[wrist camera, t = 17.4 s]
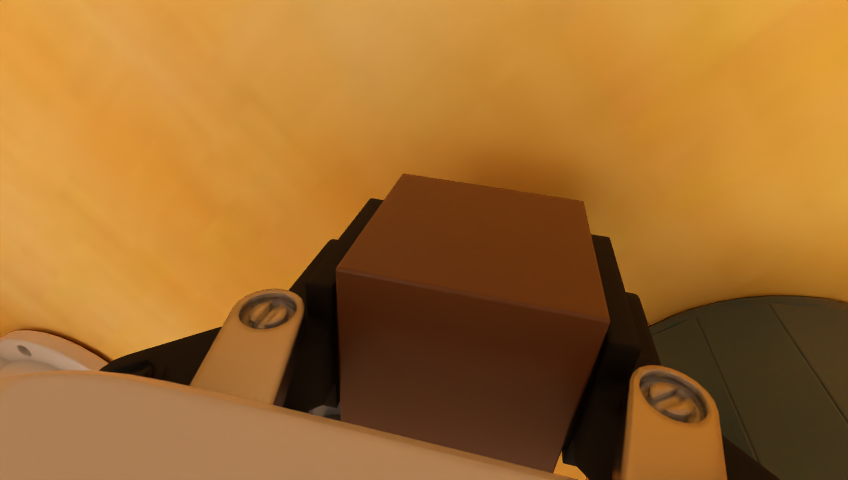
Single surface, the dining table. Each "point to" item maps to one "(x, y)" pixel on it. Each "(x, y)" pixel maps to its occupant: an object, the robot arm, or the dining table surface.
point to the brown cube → (470, 319)
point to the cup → (770, 377)
